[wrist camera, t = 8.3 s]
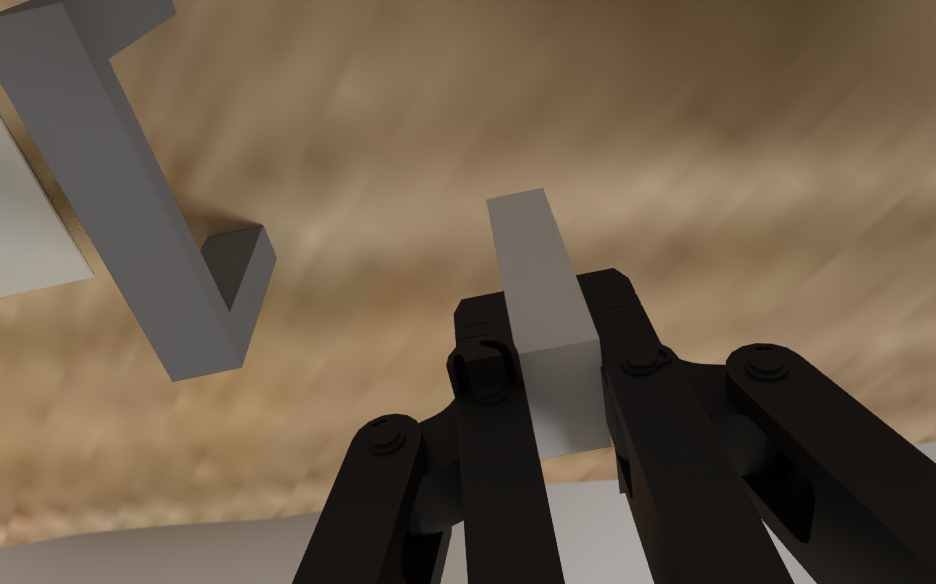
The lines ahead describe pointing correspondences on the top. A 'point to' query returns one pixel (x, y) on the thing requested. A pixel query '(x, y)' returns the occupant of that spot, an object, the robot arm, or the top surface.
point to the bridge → (129, 182)
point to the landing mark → (31, 230)
